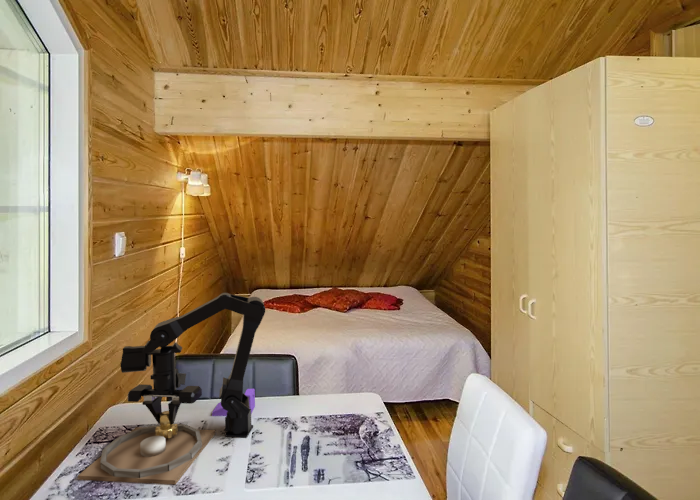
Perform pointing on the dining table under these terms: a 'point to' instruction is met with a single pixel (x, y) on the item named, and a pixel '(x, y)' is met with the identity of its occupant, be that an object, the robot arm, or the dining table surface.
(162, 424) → the gear
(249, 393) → the bracket
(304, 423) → the dining table surface
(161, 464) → the carrier
